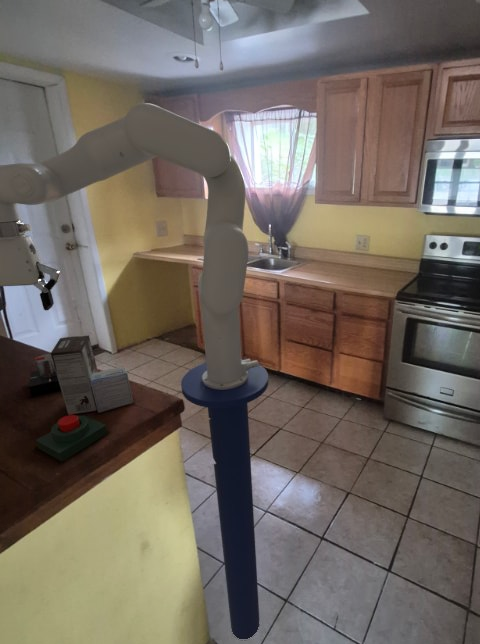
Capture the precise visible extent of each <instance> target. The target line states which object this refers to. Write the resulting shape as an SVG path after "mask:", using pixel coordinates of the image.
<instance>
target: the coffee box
mask: <svg viewBox="0 0 480 644" xmlns="http://www.w3.org/2000/svg"><path fill="white" fill-rule="evenodd" d="M50 354H51V356H52V360H53V363H54V367H55V370H56V374H57V377H58V381H59V384H60V388H61V390H60V391H61V394H62V398H63V402H64V406H65V408H66V412H67V416H68V415H76V414H82V413H89V412H96V411H98V410H97V406H96V402H95V398H94V394H93V390H92V387H91V383H90V377H91V375H92V373H97V372H99V370H98V367H97V366H98V365H97V362H96V359H95V354H94V349H93V346H92V342H91V337H90V335H81V336H80V335H77V336H75V335H74V336H66V337H65V336H64V337H60V338H59V339H58V341H57V343H56V344H55V345H54V347H53V349H52V350H51V351H50Z"/></svg>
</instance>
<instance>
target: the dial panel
mask: <svg viewBox="0 0 480 644" xmlns="http://www.w3.org/2000/svg"><path fill="white" fill-rule="evenodd" d="M28 389H29V393H30V395H31V398H32V397H38V396H41V395H46V394H51V393H55V392H59V391H61V388H60V384H59V381H58V377H57V376H55V377H52V378H47V379H44V378H41V377H40V374H39V371H38V369H37V370H32V371H30V374H29V382H28Z"/></svg>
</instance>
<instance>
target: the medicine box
mask: <svg viewBox="0 0 480 644" xmlns="http://www.w3.org/2000/svg"><path fill="white" fill-rule="evenodd" d="M90 383H91V387H92V390H93V394H94V398H95V402H96V406H97V410H96V411H97V413H103V412H107V411H110V410H114V409H117V408H121V407H124V406H128V405H131V404H134V398H133V394H132V389H131V383H130V378H129V374H128V371H127V369H126V367H125V366H119V367H113V368H110V369H109V368H108V369H106V370H105V369H104V370H101V371H98V372H97V373H92V375H91V377H90Z"/></svg>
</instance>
